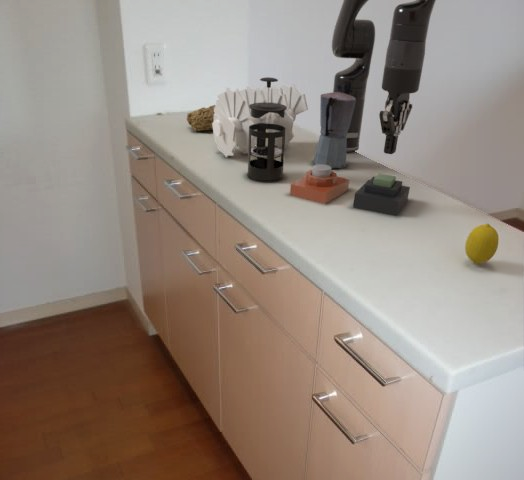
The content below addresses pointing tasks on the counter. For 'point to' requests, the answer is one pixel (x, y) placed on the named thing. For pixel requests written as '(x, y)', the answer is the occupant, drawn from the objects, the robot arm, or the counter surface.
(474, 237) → the lemon
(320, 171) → the pale grey round puck
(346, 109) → the moka pot
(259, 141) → the french press
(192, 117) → the sponge
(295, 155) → the counter surface
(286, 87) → the spiral staircase
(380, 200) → the dark square push button
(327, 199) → the orange button block
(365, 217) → the counter surface
